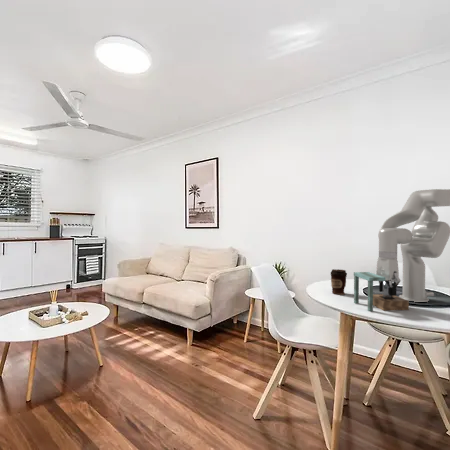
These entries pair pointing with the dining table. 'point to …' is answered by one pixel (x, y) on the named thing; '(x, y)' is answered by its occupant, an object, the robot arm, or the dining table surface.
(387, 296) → the peg
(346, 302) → the dining table surface
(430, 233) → the robot arm
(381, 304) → the socket station
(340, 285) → the coffee cup
